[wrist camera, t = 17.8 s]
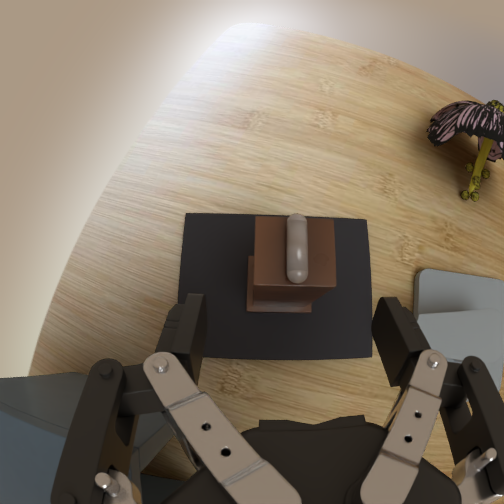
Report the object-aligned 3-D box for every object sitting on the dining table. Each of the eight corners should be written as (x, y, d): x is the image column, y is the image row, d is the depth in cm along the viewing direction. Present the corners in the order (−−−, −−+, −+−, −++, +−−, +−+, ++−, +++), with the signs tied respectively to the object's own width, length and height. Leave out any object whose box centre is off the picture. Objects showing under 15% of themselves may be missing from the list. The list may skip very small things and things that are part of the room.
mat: (176, 354, 24) (174, 354, 23) (187, 215, 27) (185, 213, 26) (369, 356, 23) (372, 357, 23) (364, 221, 27) (366, 219, 26)
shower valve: (419, 248, 20) (533, 270, 20) (390, 265, 25) (501, 282, 25) (404, 419, 17) (527, 399, 16) (376, 405, 22) (493, 395, 21)
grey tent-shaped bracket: (79, 466, 20) (-21, 521, 6) (73, 371, 23) (-54, 378, 8) (199, 493, 20) (155, 604, 6) (199, 391, 23) (129, 456, 8)
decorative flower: (547, 126, 20) (563, 166, 13) (513, 195, 29) (503, 258, 22) (450, 67, 26) (421, 77, 19) (428, 140, 35) (390, 181, 28)
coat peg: (246, 312, 24) (241, 291, 13) (248, 258, 25) (245, 198, 15) (309, 313, 24) (352, 293, 13) (309, 259, 25) (347, 203, 14)
